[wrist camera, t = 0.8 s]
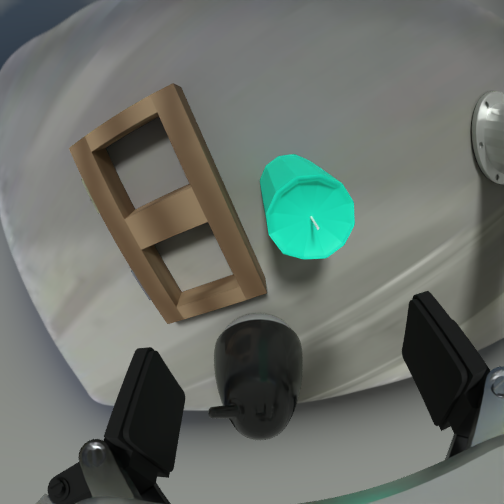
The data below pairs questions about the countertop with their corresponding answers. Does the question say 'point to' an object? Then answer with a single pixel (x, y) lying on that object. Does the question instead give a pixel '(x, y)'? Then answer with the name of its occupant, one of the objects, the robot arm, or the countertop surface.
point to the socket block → (169, 209)
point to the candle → (305, 208)
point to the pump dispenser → (258, 375)
